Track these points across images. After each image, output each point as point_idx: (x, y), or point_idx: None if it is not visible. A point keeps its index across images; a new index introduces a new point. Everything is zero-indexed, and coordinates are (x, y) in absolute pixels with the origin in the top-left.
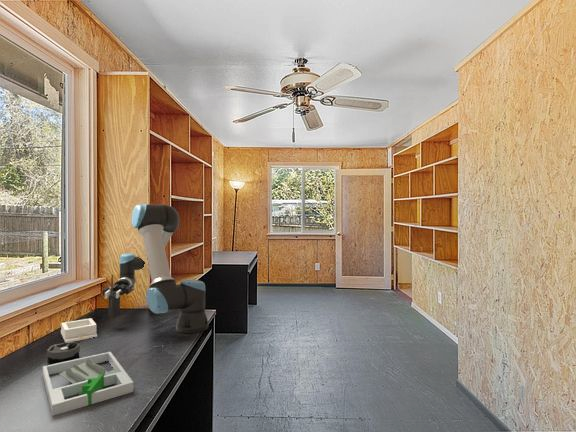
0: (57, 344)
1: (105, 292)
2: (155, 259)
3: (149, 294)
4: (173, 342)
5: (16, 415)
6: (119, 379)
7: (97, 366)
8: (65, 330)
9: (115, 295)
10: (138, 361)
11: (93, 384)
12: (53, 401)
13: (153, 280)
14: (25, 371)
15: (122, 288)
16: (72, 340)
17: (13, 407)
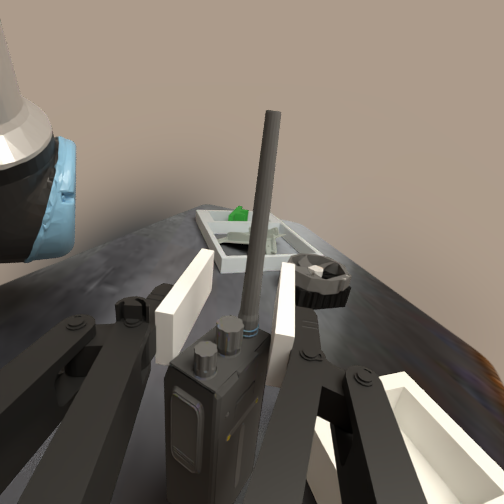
0: (340, 278)
1: (294, 272)
2: None
3: (75, 172)
4: (54, 290)
5: (300, 229)
6: (210, 215)
7: (239, 232)
8: (402, 373)
9: (213, 328)
10: (172, 256)
11: (237, 209)
12: (270, 213)
13: (25, 103)
14: (359, 284)
15: (138, 300)
16: None
17: (311, 235)
